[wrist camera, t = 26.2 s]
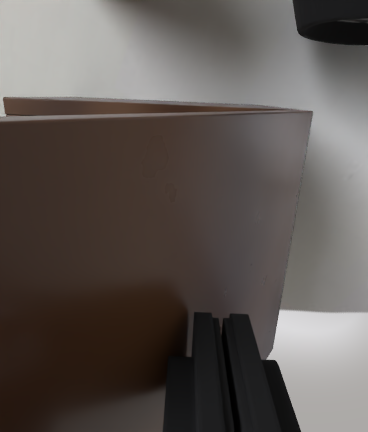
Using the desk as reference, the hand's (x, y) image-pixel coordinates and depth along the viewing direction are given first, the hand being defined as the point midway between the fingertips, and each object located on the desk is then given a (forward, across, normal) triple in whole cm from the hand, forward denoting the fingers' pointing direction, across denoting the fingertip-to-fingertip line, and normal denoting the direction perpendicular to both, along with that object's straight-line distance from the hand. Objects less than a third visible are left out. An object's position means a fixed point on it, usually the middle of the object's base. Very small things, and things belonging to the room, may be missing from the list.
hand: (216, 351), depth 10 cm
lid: (+2, 0, 0) cm, 2 cm away
